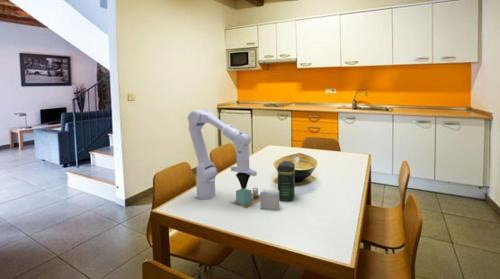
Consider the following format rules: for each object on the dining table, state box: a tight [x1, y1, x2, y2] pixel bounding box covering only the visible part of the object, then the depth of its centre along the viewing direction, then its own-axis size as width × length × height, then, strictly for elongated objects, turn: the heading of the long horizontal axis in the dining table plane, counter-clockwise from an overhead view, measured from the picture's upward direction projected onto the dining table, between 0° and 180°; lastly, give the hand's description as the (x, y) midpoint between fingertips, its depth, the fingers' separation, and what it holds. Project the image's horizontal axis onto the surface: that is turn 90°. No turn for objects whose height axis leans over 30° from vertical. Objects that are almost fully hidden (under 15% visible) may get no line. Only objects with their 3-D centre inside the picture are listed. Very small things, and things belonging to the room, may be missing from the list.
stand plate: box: [230, 192, 261, 209], centre depth 144 cm, size 10×16×1 cm, turn 138°
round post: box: [252, 187, 259, 199], centre depth 146 cm, size 3×3×4 cm
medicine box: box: [259, 188, 281, 211], centre depth 134 cm, size 8×4×9 cm, turn 74°
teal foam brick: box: [235, 188, 253, 206], centre depth 140 cm, size 5×5×6 cm
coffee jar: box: [277, 160, 296, 203], centre depth 144 cm, size 10×8×19 cm
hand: (243, 188), depth 140 cm, fingers closed
